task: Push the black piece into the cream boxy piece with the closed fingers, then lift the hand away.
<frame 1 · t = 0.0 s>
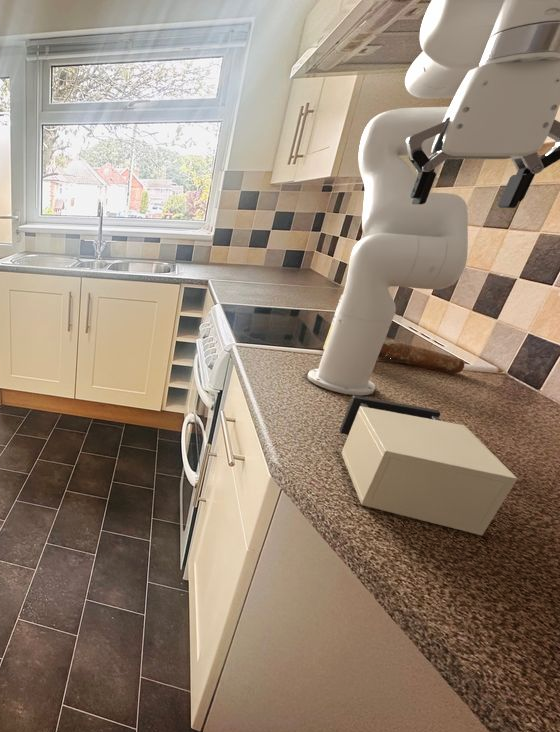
hand: (460, 205, 57), 37 cm above the countertop, tool pointing down, fingers open, 9 cm apart
bread: (410, 364, 107), on the countertop
black piece: (393, 432, 65), point 4 cm above the countertop, slide at 5.5 cm
candy box: (342, 354, 112), on the countertop
cream boxy piece: (402, 489, 59), on the countertop
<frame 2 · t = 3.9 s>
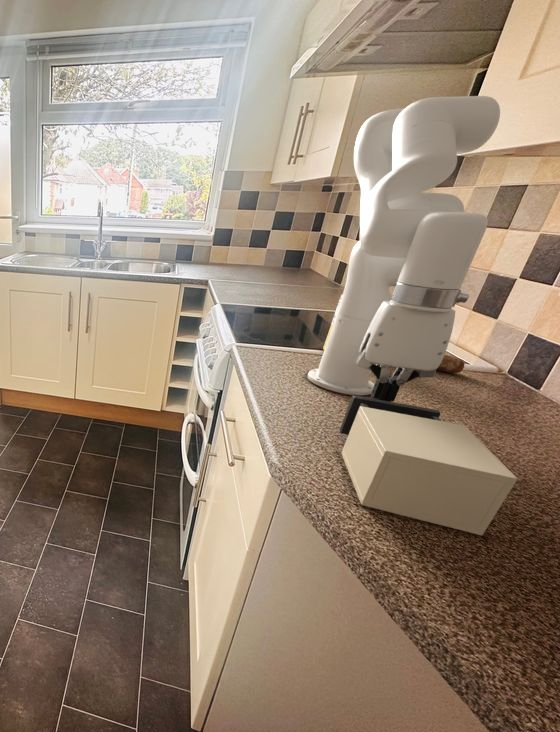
hand: (380, 402, 72), 5 cm above the countertop, tool pointing down, fingers closed
black piece: (393, 432, 65), point 4 cm above the countertop, slide at 5.5 cm, touching gripper
everything else where it was.
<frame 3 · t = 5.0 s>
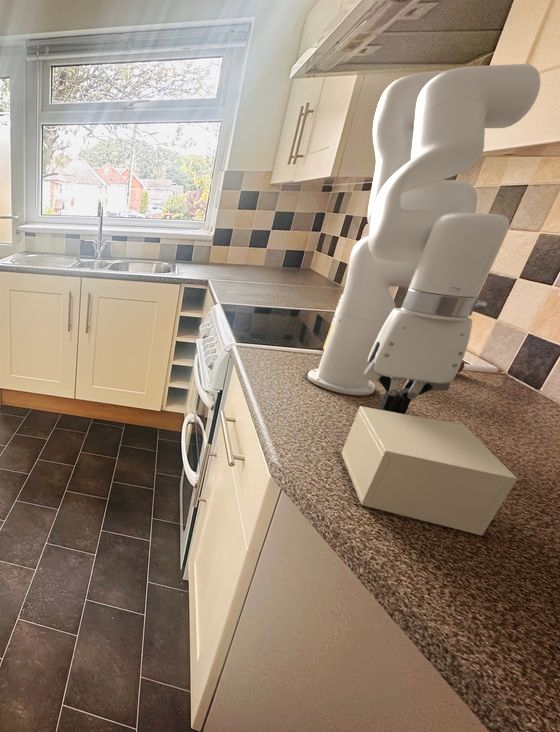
hand: (389, 416, 68), 5 cm above the countertop, tool pointing down, fingers closed
black piece: (405, 450, 60), point 4 cm above the countertop, slide at 0.0 cm, touching cream boxy piece, gripper
everything else where it was.
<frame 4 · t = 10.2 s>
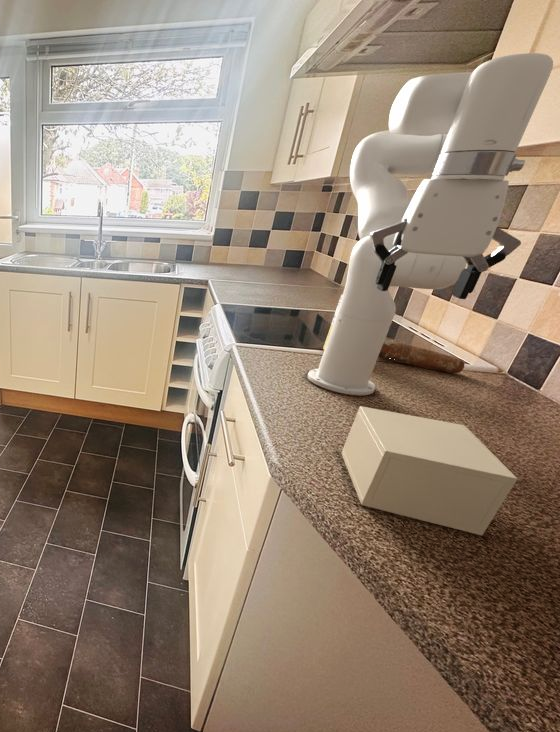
hand: (418, 293, 64), 24 cm above the countertop, tool pointing down, fingers open, 9 cm apart
black piece: (405, 450, 60), point 4 cm above the countertop, slide at 0.0 cm, touching cream boxy piece
everything else where it was.
at the end: black piece slide at 0.0 cm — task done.
